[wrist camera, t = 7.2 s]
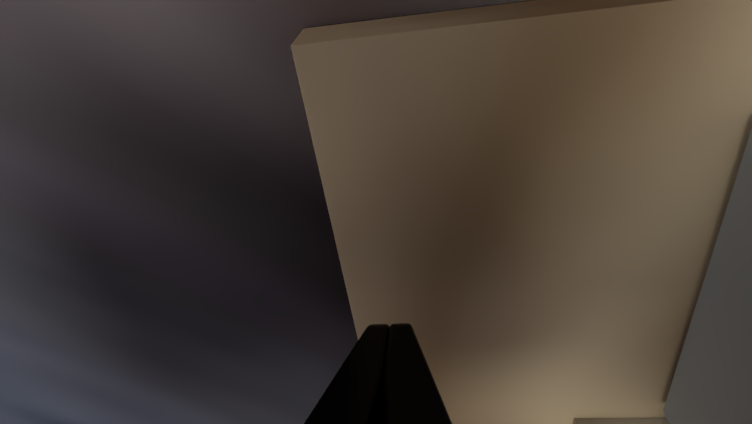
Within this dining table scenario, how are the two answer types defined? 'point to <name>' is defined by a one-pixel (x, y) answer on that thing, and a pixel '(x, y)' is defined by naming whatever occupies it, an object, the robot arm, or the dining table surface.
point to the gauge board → (533, 190)
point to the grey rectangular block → (721, 324)
